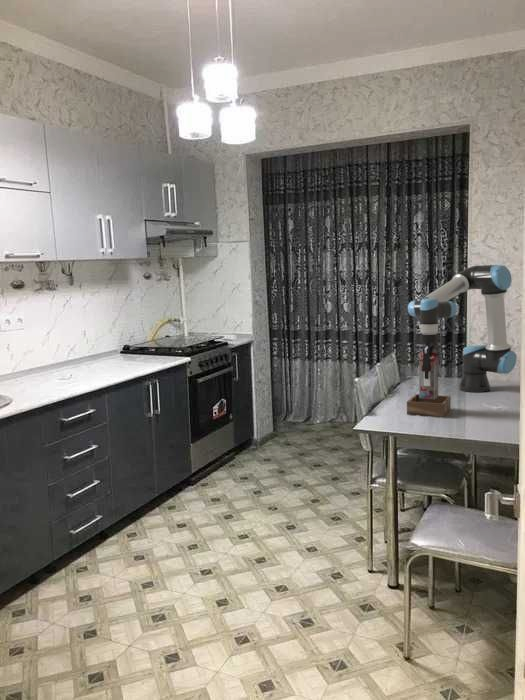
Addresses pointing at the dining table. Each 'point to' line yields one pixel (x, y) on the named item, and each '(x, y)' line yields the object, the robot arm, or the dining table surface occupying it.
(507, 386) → the dining table surface
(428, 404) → the walled box
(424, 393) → the juice carton
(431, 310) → the robot arm
